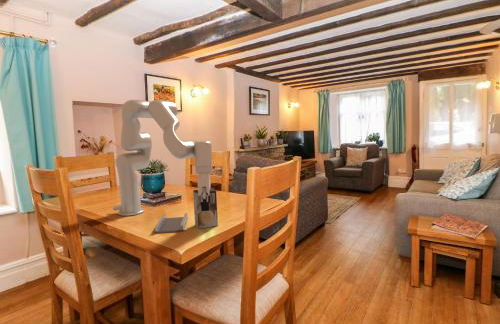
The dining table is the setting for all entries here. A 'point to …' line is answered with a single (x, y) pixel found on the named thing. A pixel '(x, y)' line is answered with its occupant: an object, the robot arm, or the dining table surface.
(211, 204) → the coffee box
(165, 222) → the floor track
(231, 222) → the dining table surface
